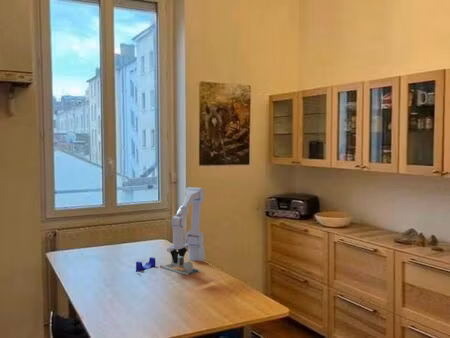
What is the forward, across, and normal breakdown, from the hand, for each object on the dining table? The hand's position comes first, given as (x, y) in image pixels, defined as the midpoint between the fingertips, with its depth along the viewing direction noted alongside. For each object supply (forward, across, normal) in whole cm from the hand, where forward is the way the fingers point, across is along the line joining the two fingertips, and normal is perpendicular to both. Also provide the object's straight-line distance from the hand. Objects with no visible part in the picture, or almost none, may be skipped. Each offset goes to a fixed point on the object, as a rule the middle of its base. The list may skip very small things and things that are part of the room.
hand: (178, 262), depth 255 cm
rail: (+5, 0, +1) cm, 5 cm away
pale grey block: (+2, 0, 0) cm, 2 cm away
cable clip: (+6, +11, -16) cm, 20 cm away
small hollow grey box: (+4, 0, +8) cm, 9 cm away
